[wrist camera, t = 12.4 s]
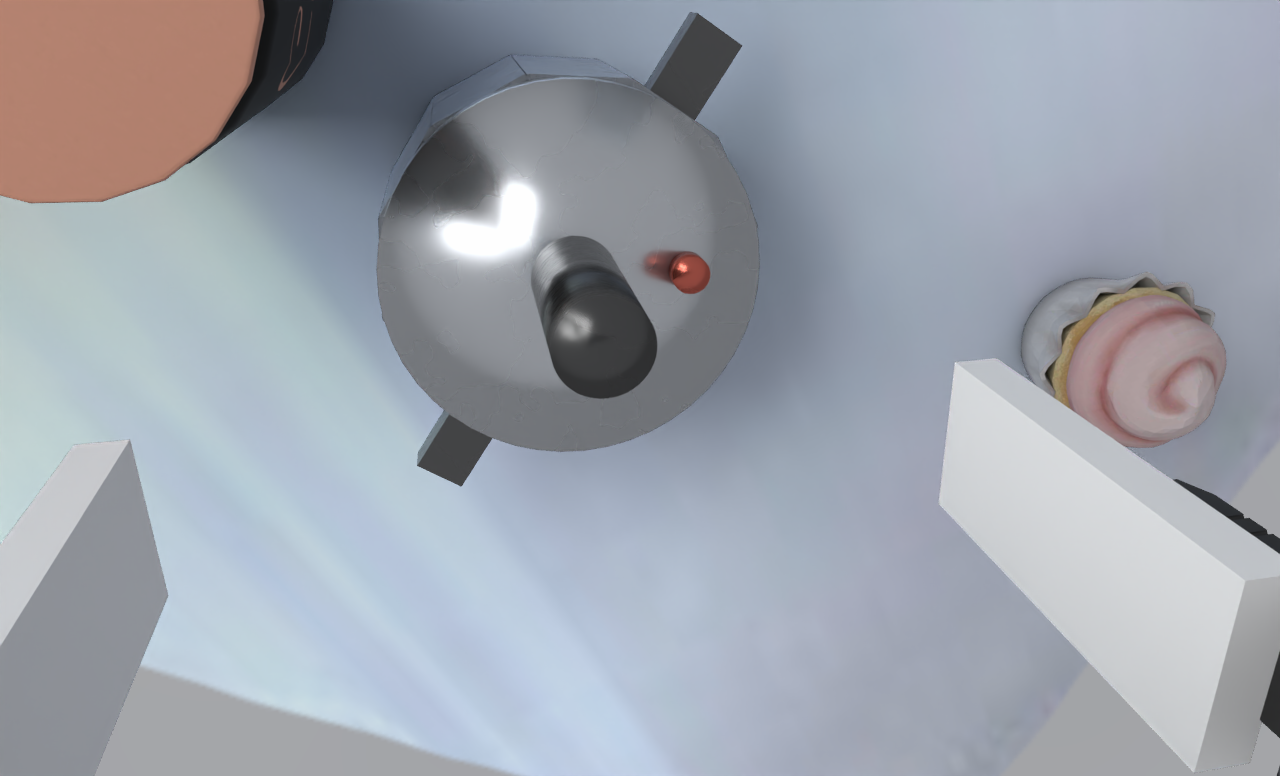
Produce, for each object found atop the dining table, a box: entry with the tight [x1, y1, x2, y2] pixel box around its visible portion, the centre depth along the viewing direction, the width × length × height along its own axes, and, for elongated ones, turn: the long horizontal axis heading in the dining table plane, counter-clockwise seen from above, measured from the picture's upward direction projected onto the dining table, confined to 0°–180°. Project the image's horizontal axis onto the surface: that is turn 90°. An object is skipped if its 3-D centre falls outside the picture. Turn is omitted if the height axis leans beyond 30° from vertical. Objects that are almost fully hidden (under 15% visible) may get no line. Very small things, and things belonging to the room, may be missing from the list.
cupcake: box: [1021, 272, 1226, 448], centre depth 48 cm, size 9×9×10 cm
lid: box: [377, 76, 760, 452], centre depth 34 cm, size 14×14×10 cm
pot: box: [378, 12, 758, 486], centre depth 41 cm, size 20×14×9 cm
